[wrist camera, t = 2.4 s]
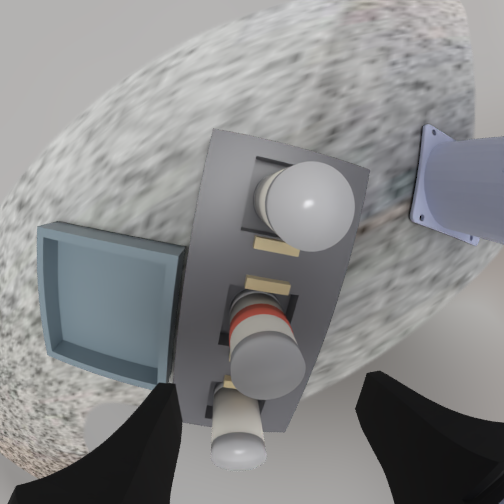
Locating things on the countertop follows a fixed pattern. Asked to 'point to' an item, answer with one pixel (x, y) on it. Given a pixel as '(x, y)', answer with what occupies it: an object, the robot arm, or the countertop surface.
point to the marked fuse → (262, 347)
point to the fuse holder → (252, 272)
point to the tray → (109, 301)
